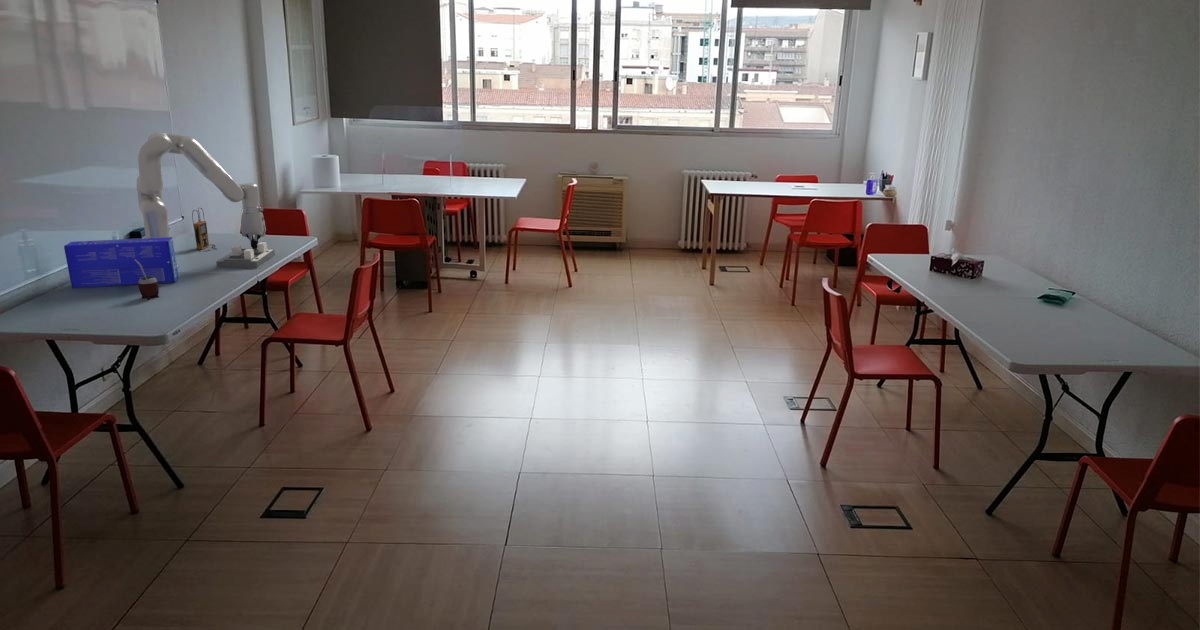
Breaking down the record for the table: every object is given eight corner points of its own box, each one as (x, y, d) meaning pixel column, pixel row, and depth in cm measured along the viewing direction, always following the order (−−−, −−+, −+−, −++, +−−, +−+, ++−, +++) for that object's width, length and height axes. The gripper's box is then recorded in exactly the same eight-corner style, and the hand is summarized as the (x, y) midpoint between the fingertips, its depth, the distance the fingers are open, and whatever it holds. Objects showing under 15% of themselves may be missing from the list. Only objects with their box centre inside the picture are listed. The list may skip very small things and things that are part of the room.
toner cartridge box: (179, 278, 351) (173, 236, 345) (175, 283, 343) (169, 240, 338) (77, 283, 341) (69, 240, 335) (71, 288, 333) (62, 244, 328)
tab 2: (264, 252, 385) (263, 244, 383) (258, 252, 384) (257, 244, 383) (267, 250, 388) (266, 242, 387) (261, 250, 388) (260, 242, 387)
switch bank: (257, 268, 369) (256, 260, 368) (216, 267, 369) (215, 260, 367) (274, 255, 392) (274, 248, 391) (236, 255, 391) (235, 247, 390)
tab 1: (251, 259, 371) (250, 251, 370) (244, 259, 371) (243, 251, 370) (254, 257, 375) (253, 249, 374) (247, 257, 375) (246, 249, 374)
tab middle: (238, 255, 377) (237, 247, 376) (232, 255, 377) (231, 247, 376) (242, 253, 381) (241, 245, 380) (235, 253, 381) (234, 245, 380)
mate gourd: (158, 299, 321) (152, 262, 317) (135, 300, 319) (129, 263, 314) (162, 294, 328) (156, 258, 323) (140, 295, 326) (134, 259, 321)
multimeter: (213, 252, 397) (208, 211, 391) (193, 251, 397) (187, 211, 391) (227, 245, 411) (222, 206, 404) (207, 244, 411) (202, 205, 405)
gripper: (270, 209, 384) (273, 247, 390) (238, 208, 383) (241, 246, 389) (265, 212, 377) (268, 250, 383) (232, 211, 376) (235, 249, 382)
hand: (254, 248), depth 386 cm, fingers closed
